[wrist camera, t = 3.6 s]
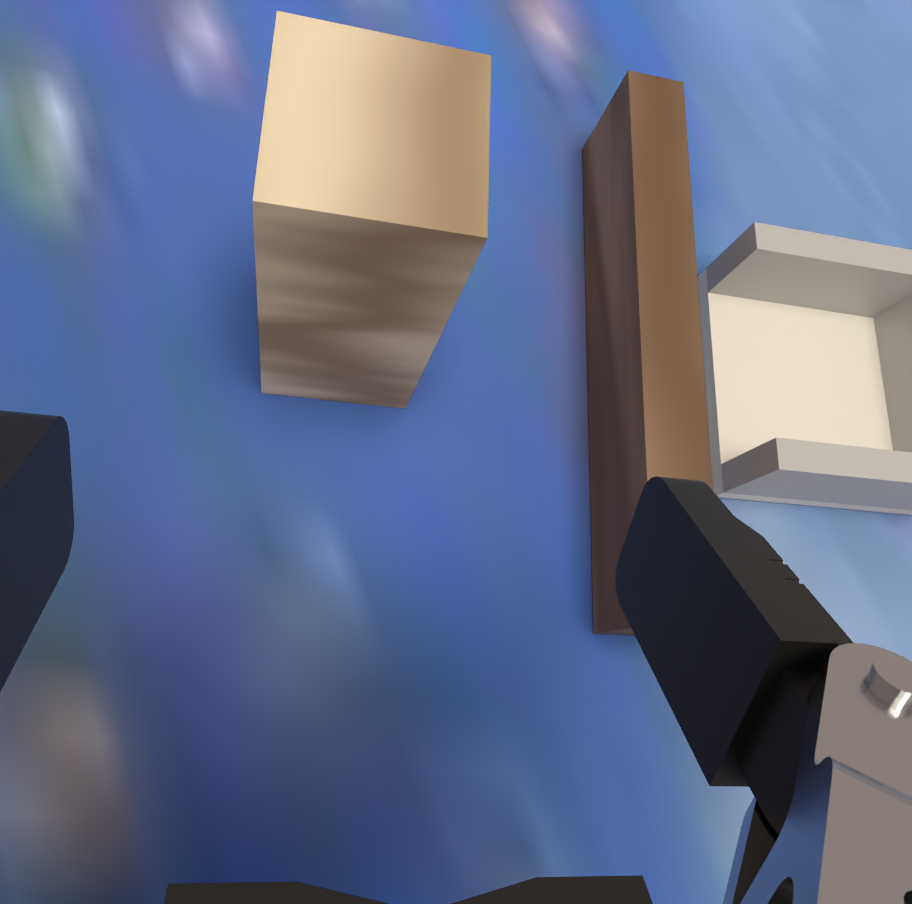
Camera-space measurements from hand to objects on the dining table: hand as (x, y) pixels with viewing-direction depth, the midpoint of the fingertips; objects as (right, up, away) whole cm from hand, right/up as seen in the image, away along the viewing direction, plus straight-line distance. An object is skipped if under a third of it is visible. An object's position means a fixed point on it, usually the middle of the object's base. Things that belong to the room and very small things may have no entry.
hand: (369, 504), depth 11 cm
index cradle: (+14, +3, +17) cm, 22 cm away
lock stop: (-3, +4, +14) cm, 15 cm away
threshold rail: (+7, +4, +16) cm, 17 cm away
